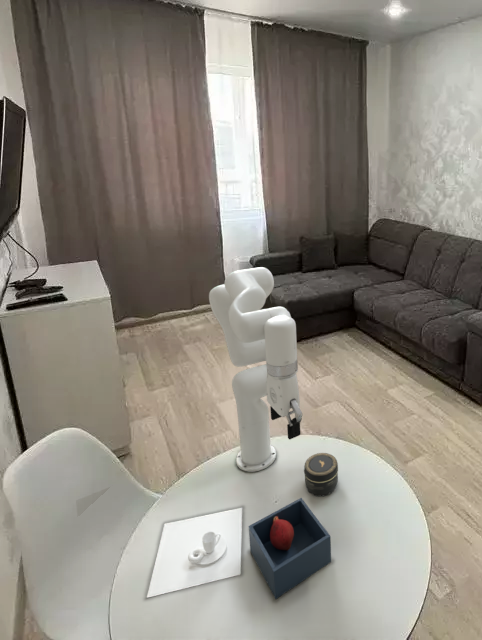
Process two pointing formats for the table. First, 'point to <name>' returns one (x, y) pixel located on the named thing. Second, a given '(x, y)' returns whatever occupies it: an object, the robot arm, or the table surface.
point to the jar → (321, 474)
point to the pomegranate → (281, 534)
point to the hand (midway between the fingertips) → (285, 427)
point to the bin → (303, 555)
